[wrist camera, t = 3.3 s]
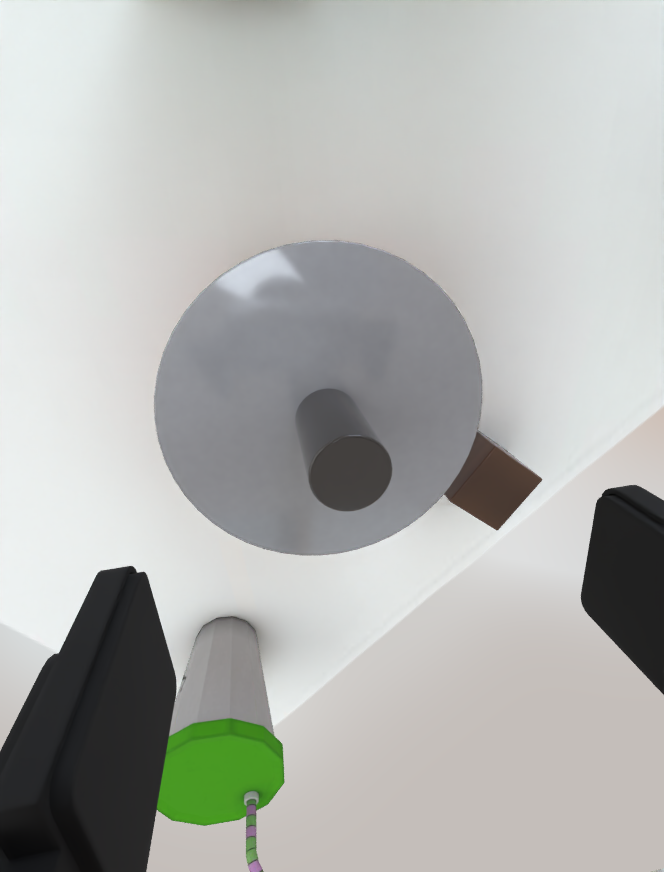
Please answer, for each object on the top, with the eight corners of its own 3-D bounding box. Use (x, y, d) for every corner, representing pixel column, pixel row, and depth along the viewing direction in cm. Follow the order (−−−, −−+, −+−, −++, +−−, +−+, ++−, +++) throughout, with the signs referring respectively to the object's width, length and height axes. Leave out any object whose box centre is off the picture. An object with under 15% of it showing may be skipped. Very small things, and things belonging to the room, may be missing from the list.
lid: (477, 227, 18) (584, 216, 12) (464, 518, 23) (535, 607, 17) (122, 256, 16) (50, 258, 10) (194, 560, 21) (172, 674, 15)
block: (464, 421, 31) (495, 446, 27) (507, 451, 33) (543, 479, 29) (425, 470, 32) (449, 501, 28) (468, 497, 34) (497, 531, 30)
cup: (158, 616, 33) (91, 872, 20) (263, 587, 34) (268, 817, 20) (193, 688, 36) (155, 952, 23) (288, 660, 37) (308, 903, 23)
